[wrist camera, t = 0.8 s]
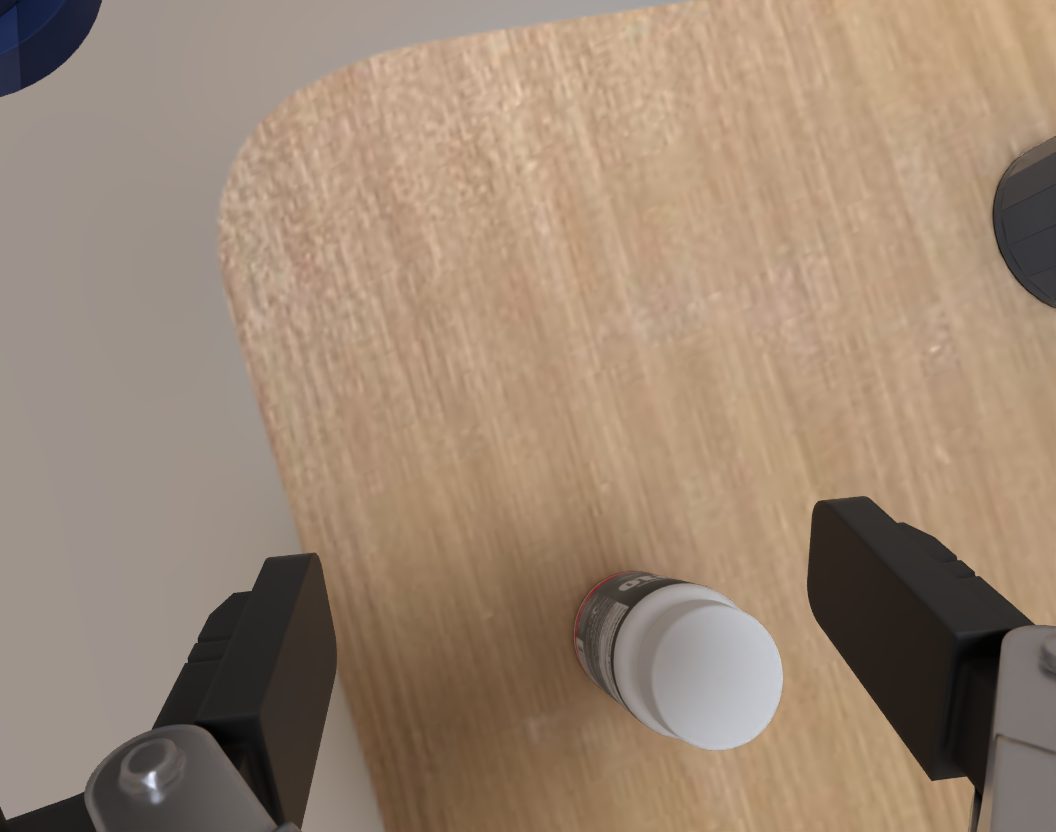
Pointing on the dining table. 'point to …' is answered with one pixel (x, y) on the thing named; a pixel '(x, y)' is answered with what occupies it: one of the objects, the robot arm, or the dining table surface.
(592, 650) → the pill bottle
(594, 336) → the dining table surface
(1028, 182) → the bottle holder
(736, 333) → the dining table surface
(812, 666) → the dining table surface
